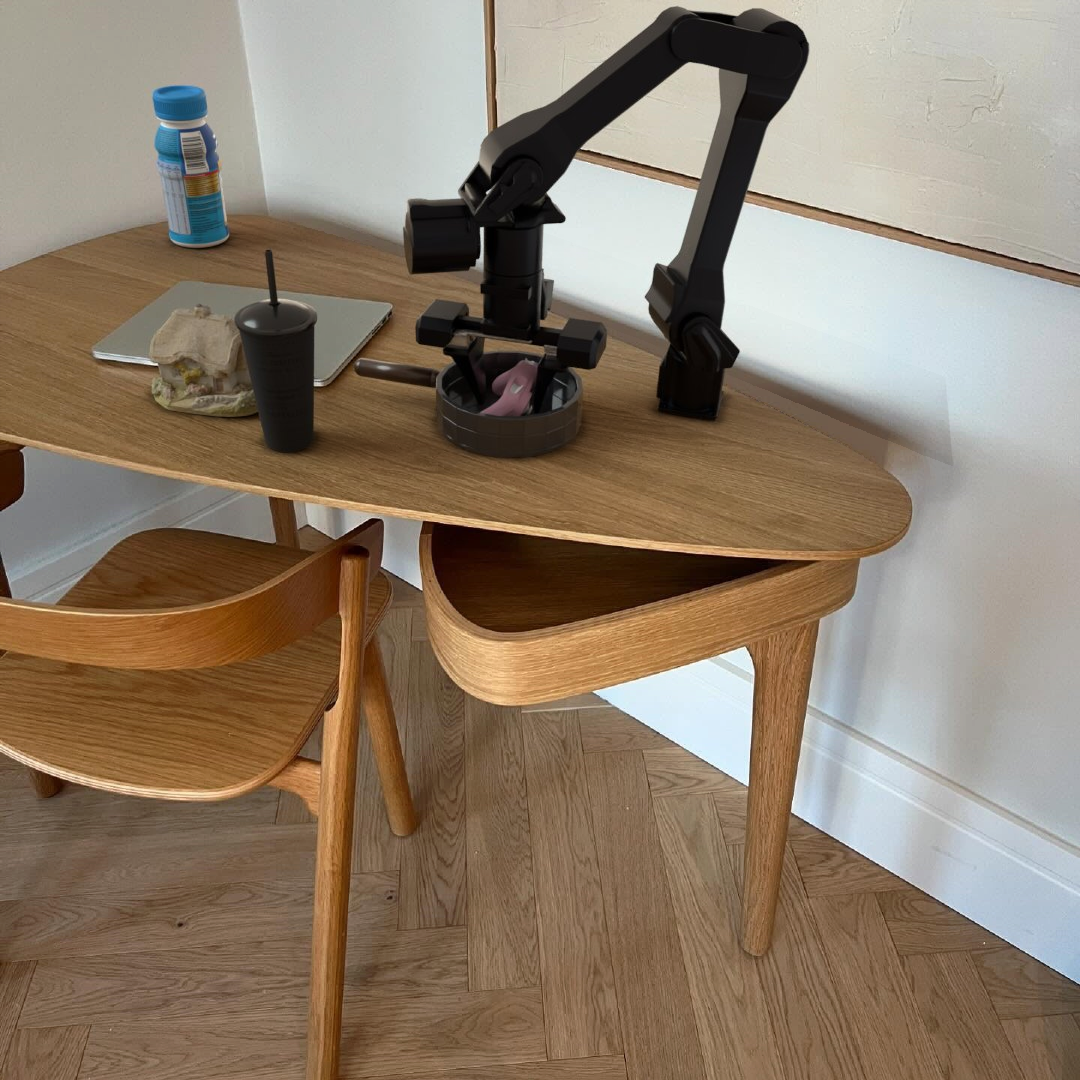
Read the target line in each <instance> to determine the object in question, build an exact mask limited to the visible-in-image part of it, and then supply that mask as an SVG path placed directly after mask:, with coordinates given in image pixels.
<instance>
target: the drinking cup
mask: <svg viewBox="0 0 1080 1080" xmlns="http://www.w3.org/2000/svg"><path fill="white" fill-rule="evenodd" d="M264 257H265V266H266V275H267V283H268V284H267V285H268V292H269V298H266V299H263V300H259V301H256V302H253V303H250V304H248V305H246V306H244V307H242V308H240V309H239V310H238V311H237V312H236V313H235V314H234V318H233V320H234V322H235V326H236V327H237V329H238V330H239V332H240V336H241V340H242V344H243V349H244V353H245V357H246V361H247V366H248V370H249V374H250V379H251V383H252V387H253V391H254V396H255V400H256V404H257V409H258V412H257V414H258V417H259V421H260V425H261V430H262V434H263V438H264V442H265V445H266V446H267V448H269V449H270V450H272V451H275V452H279V453H294V452H299V451H302V450H305V449H307V448H308V447H310V446H311V445H312V444H313V442H314V438H315V437H314V435H315V433H314V432H315V430H314V429H315V325H316V323H317V321H318V314H317V311H316V310H315V308H314V307H313V306H311V305H309V304H307V303H305V302H302V301H299V300H298V301H297V300H293V299H288V298H278V291H277V290H278V289H277V281H276V271H275V264H274V253H273V250H272V249H265V250H264Z"/></svg>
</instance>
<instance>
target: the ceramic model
mask: <svg viewBox="0 0 1080 1080" xmlns="http://www.w3.org/2000/svg"><path fill="white" fill-rule="evenodd" d="M232 318H233V317H231V316H228V315H224V314H220V313H214V312H213V313H212V312H211V307H210V306H209V304H201V303H197V304H196V305H194V308H193V310H192V309H190V308H189V309H188V308H176V309H175V310H173V311H171V314H170V316H169V318H168V319H167V320H166V321H165V323H163V325H162V326H161V327H159V329H157V330H156V331H155V332H154V334H153V337H152V338H151V340H150V346H149V347H150V349H149V351H148V352H149V355H148V359H149V360H150V362H151V363H153V364H157V367H158V371H159V375H160V376H155V377H154V378H153V379H152V380H151V394H152V396H153V397H154V400H155V402H156V403H158V404H159V405H160V406H161V407H163V408H164V409H166V410H168V411H173V412H179V413H186V414H193V415H199V416H211V417H226V418H235V417H247V416H250V415H254V414H256V413H258V409H257V404H256V400H255V396H254V391H253V387H252V383H251V379H250V374H249V370H248V366H247V361H246V357H245V353H244V349H243V344H242V340H241V336H240V332H239V330H238V329H237V327H236V326H235V322H234V319H232Z"/></svg>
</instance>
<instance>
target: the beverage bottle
mask: <svg viewBox="0 0 1080 1080" xmlns="http://www.w3.org/2000/svg"><path fill="white" fill-rule="evenodd" d="M151 98H152V103H153V109H154V114H155V116H156V119H157V120H158V121H160V123H159V126H158V128H157V130H156V134H155V137H154V149H155V150H156V152H157V154H158V156H157V158H156V170H157V172H158V174H159V177H160V182H161V187H162V193H163V194H162V195H163V199H164V206H165V211H166V217H167V222H168V223H167V224H168V234H169V239H170V240H171V242H172V243H174V244H175V245H177V246H180V247H184V248H188V249H202V248H209V247H214V246H218V245H220V244H223V243H225V242H226V241H227V240H228V239H229V237H230V227H229V223H228V218H227V212H226V211H227V210H226V204H225V197H224V196H225V195H224V190H223V189H224V187H223V179H222V168H223V167H222V165H223V164H222V159H221V157H220V155H219V154H218V152H217V148H218V145H219V142H218V140H217V139H218V138H217V137H216V134H215V133H214V131H213V129H212V128H211V127H210V125H209V124H208V123H207V121H205V119H206V118H208V113H209V110H208V103H207V95H206V91H205V90H204V89H203V88H201V87H198V86H194V85H185V84H179V85H177V84H175V85H167V86H162V87H158V88H156V89H154V90H153V92H152V97H151Z"/></svg>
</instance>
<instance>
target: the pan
mask: <svg viewBox="0 0 1080 1080" xmlns="http://www.w3.org/2000/svg"><path fill="white" fill-rule="evenodd" d="M543 355H544V354H542V353H538V352H531V351H523V350H505V349H503V350H497V349H496V350H490V351H484V366H485V380H486V397H485V402H484V404H483V405H479V404H478V402H477V400H476V398H475V396H474V394H473V392H472V390H471V388H470V386H469V384H468V382H467V381H466V379H465V377H464V375H463V374H462V372H461V371H460V369H459V368H458V366H457V365H456V363H455V362H454V360H452V361H451V362H449V364H447V365H445V366H444V367H443V368H442V369H441V370H440V373H439V375H438V376H437V378H436V388H435V408H436V409H435V410H436V412H435V415H436V423H437V424H436V425H437V428H438V430H439V432H440V433H441V434H442V436H443V437H444V438H445V439H446V440H448V441H449V442H450V443H452V444H453V445H454V446H457V447H459V448H460V449H463V450H464V451H467V452H471V453H473V454H478V455H482V456H486V457H492V458H503V459H504V458H506V459H519V458H520V459H521V458H529V457H536V456H540V455H544V454H548V453H551V452H554V451H556V450H559V449H561V448H562V447H564V446H566V445H567V444H569V443H570V442H571V441H573V440H574V438H575V437H576V436H577V434H579V430H580V428H581V423H582V416H583V415H582V414H583V399H584V398H583V397H584V384H583V379H582V377H581V376H580V375H579V374H578V373H577V371H576V370H575V368H573V367H569V369H568V370H567V372H564V373H559V372H557V373H556V374H555V376H554V378H553V380H552V383H551V385H550V388H549V390H548V393H547V395H546V398H545V400H544V403H543V405H542V408H541V410H540V412H539V414H535V412H534V397H535V387H536V386H535V387H534V388H533V390H532V391H531V393H532V395H531V398H530V402H529V408H530V406H531V405H532V411H531V412H530V414H528V415H527V416H526V413H527V412H526V413H524V414H522V415H521V416H496V415H490V414H484V413H480V412H482V411H483V410H485V409H487V408H489V407H490V406H492V405H493V404H495V403H496V402H497V401H498V400H499V399H500V398H501V397H502V396H498V395H496V394H495V393H494V392H493V390H492V384H493V382H494V381H495V379H496V378H497V377H499V376H500V375H502V374H503V373H505V372H507V371H509V370H511V369H512V368H514V367H515V366H516V365H517V364H518V363H519V362H520V361H522V360H524V361H525V359H526V358H527V360H528V361H534V362H536V363H539V362H540V361H541V359H542V357H543Z"/></svg>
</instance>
